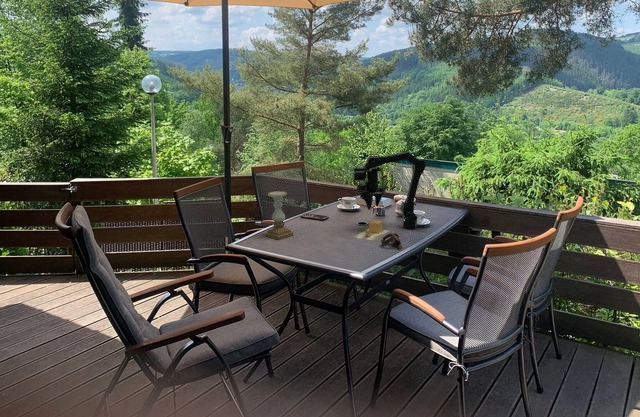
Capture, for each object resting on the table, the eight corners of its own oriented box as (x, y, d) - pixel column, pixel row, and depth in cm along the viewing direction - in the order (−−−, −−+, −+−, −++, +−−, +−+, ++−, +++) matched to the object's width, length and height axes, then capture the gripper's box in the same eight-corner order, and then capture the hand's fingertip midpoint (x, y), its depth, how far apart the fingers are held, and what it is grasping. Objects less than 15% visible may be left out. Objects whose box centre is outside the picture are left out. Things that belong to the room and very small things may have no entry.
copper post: (371, 236, 255) (371, 228, 254) (369, 237, 252) (369, 230, 252) (366, 235, 256) (366, 228, 255) (364, 236, 254) (364, 229, 253)
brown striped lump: (401, 252, 232) (392, 239, 230) (384, 258, 238) (376, 244, 236) (407, 239, 242) (399, 226, 240) (391, 245, 247) (383, 232, 245)
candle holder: (280, 232, 271) (278, 190, 265) (293, 235, 263) (291, 192, 258) (265, 236, 263) (262, 193, 258) (278, 240, 256) (275, 196, 250)
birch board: (390, 232, 264) (390, 230, 263) (375, 242, 247) (375, 240, 247) (369, 229, 270) (369, 228, 270) (352, 239, 254) (352, 237, 253)
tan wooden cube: (382, 231, 263) (382, 221, 262) (378, 233, 259) (378, 223, 258) (373, 229, 266) (373, 220, 265) (369, 232, 262) (369, 222, 260)
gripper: (367, 176, 273) (368, 203, 276) (351, 181, 258) (351, 210, 261) (385, 177, 267) (385, 204, 270) (369, 183, 252) (370, 212, 255)
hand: (373, 207), depth 264 cm, fingers open, 9 cm apart
